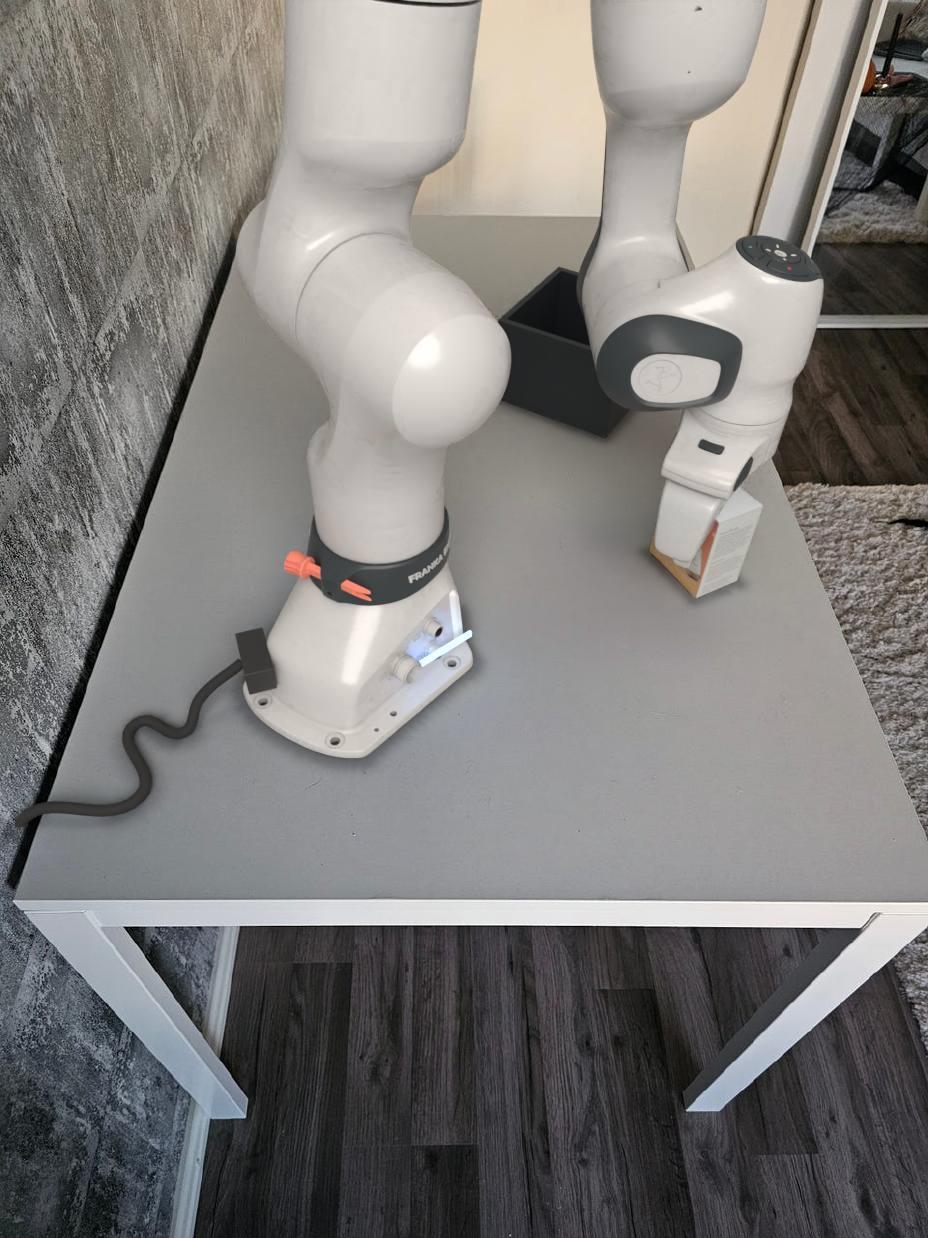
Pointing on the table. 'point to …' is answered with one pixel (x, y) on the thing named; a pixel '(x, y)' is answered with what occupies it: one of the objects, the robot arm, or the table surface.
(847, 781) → the table surface
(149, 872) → the table surface
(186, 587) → the table surface
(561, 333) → the trash bin
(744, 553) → the small box
